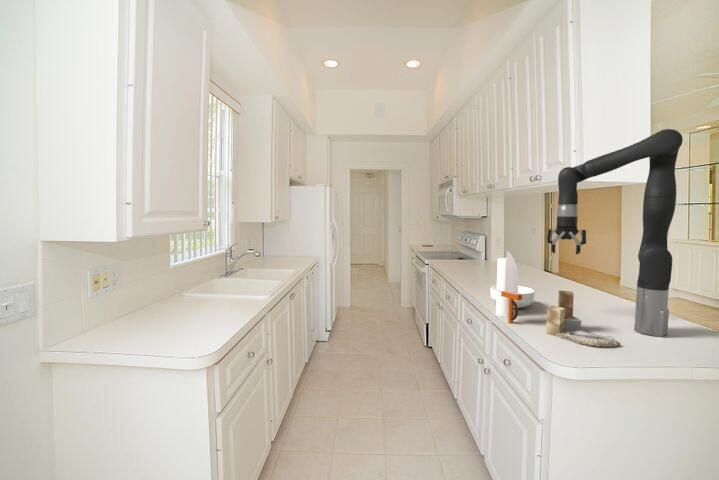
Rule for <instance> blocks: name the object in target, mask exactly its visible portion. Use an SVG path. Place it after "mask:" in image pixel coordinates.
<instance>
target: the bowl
mask: <svg viewBox="0 0 719 480" xmlns="http://www.w3.org/2000/svg"><path fill="white" fill-rule="evenodd" d="M496 293H497V284H495V285H492V286H491V287H490V298H491V299H492V300H493V302H495V303H496ZM518 294H520V295H522V300H515V299H514V301H515V302H516V304H517V307H518V309H523V308H526V307H528V306H530V305H531V304H532V302H534V300H535V290H534V289H533V288H530V287H525V286H521V285H518ZM513 309H515V307H514V305H513Z"/></svg>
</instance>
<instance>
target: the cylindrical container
mask: <svg viewBox="0 0 719 480" xmlns="http://www.w3.org/2000/svg"><path fill="white" fill-rule="evenodd" d="M514 261H515V262H516V259H515V258H514ZM496 265H497V267H496V268H497V270H496V285H497V293H496V302H495V315H496V316H498V317H507V318H508V315H509V298H507V297H503V296H501V292H502V291H505V276H506V257H499V258H497V264H496Z"/></svg>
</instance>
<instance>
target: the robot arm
mask: <svg viewBox="0 0 719 480" xmlns="http://www.w3.org/2000/svg"><path fill="white" fill-rule="evenodd" d="M683 140H684V139H683V135H682V134H681V133H680V132H679V131H678V130H676V129H672V128H666V129H662V130H659V131H657V132H656V133H654V134H652V135H649V136H648V137H646V138H644V139H641V140H640V141H638V142H635V143H633V144H631V145H629V146H626V147H623V148H620V149H617V150H614V151H611V152H609V153H605V154H603V155H599V156H597V157H594V158H592V159H589V160H587V161H585V162H584V163H582V164H579V165H576V166H573V167H572V166H568V167H564V168H562V169H561V170H560V171H559V174H558V178H557V180H558V181H557V184H558V185H557V186H558V200H557V201H558V203H557V204H558V205H557V209H556V210H557V211H556V228H555V229H551V228H548V229H547V234H546V235H547V238H546V243H548V244H550V245H551V249H550V250H551V253H552V254H556V244H557V243H558V241H559V240H568V241H569V240H573V241H574V243H575V244H576V245H575V255H579V254H581V246H582V245H586V244H587V230H586V229H578V216H579V215H578V214H579V210H578V209H579V207H578V204H579V203H578V201H579V199H578V198H579V197H578V195H579V194H578V190H577V189H578V188H577V187H578V183H581V182H584V181H586V180H587V179H591V178H594V177H597V176H600V175H603V174H604V175H605V174H607V173H609V172H612V171H614V170H616V169H617V170H618V169H620V168H622V167H624V166H627V165H629V164H632V163H634V162H637V161H639V160H640V161H641V160H643V159H647V158H648V159H649V168H648V169H649V171H648V176H647V180H646V183H645V187H644V188H645V189H644V192H643V193H644V194H643V203H642V235H641V237H642V238H641V243H640V247H639V251H638V254H637V259H638V262H639V267H638V268H639V269H638V277H637V280H636V281H637V282H636V283H637V285H636V294H635V295H636V296H635V311H634V326H633V327H634V328H633V329H634V331H635V332H636V333H640V334H642V335H648V336H653V337H661V338H664V337H665V336H667V335H668V331H669V330H668V329H669V317H670V309H669V308H668V304H669V291H670V283H671V280H672V269H673V255H672V254H671V252H670V251H669V250H668V235H669V229H670V227H671V224H672V221H673V218H674V215H675V211H676V206H677V205H676V202H677V179H676V171H675V170H676V164H677V159H678V155H679V151H680V148H681V146H682V144H683ZM554 233H555V234H556V236H555V237H554V239H553V240H551V238H552V235H553V234H554ZM577 234H579V235H581V241H579V239H578V238H577V237H576V236H577Z"/></svg>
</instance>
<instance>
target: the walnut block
mask: <svg viewBox="0 0 719 480" xmlns="http://www.w3.org/2000/svg"><path fill="white" fill-rule="evenodd" d="M574 296H575V295H574V292H573V291H570V290H558V300H557V301H558V302H557V303H558V305H557V307H561V308H565V315H564V319H570V320H573V316H574V298H575V297H574Z"/></svg>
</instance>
